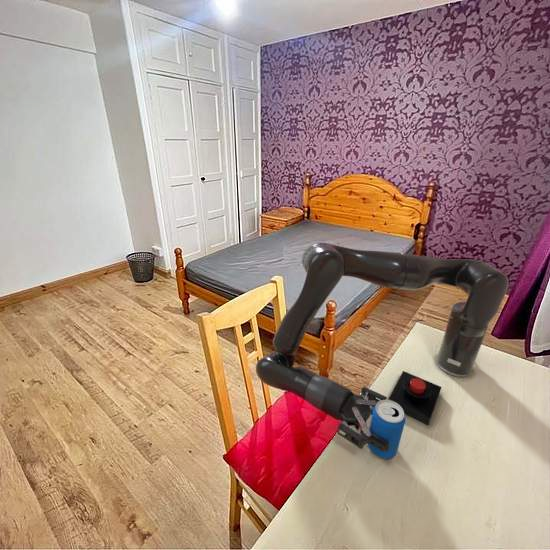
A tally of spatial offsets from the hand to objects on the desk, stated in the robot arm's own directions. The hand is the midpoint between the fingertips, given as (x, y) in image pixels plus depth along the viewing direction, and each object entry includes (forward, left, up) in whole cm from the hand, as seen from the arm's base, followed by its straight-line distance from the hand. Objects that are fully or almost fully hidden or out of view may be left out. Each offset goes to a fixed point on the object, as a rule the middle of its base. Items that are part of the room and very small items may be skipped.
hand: (395, 432), depth 65 cm
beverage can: (0, -2, -7) cm, 7 cm away
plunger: (-18, 0, -3) cm, 18 cm away
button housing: (-18, 0, -7) cm, 19 cm away
